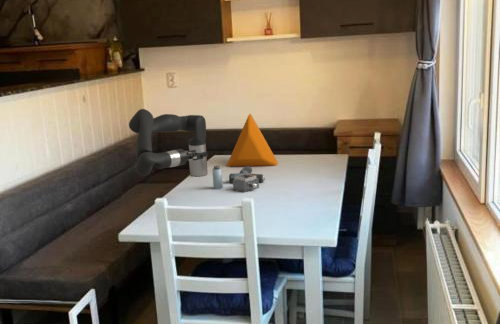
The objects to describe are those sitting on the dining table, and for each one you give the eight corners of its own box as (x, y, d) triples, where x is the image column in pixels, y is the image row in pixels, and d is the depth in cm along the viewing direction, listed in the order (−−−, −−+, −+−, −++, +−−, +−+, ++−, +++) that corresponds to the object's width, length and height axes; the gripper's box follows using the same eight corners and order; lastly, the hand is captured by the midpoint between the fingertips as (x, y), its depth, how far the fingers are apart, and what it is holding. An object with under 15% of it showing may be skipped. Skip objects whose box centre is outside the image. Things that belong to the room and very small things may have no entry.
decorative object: (225, 168, 320) (221, 117, 314) (229, 162, 335) (226, 113, 329) (276, 167, 316) (274, 115, 310) (278, 161, 331) (276, 111, 324)
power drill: (271, 174, 302) (264, 184, 283) (237, 174, 306) (229, 184, 287) (270, 165, 301) (264, 174, 282) (237, 165, 305) (228, 174, 286)
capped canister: (211, 188, 280) (210, 166, 277) (218, 186, 283) (217, 165, 280) (217, 189, 276) (216, 168, 274) (224, 187, 280) (223, 166, 277)
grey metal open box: (233, 189, 275) (232, 177, 273) (247, 185, 282) (246, 172, 280) (249, 193, 267) (248, 180, 266) (263, 188, 274) (262, 175, 272)
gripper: (184, 151, 250) (210, 146, 262) (164, 148, 260) (191, 143, 271) (184, 168, 252) (211, 162, 263) (165, 164, 261) (191, 158, 273)
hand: (201, 152), depth 267 cm, fingers open, 8 cm apart
